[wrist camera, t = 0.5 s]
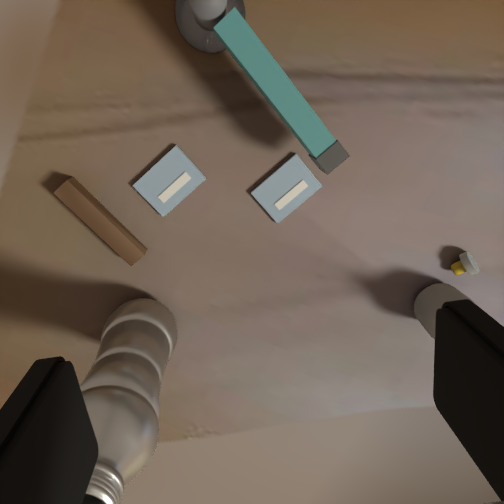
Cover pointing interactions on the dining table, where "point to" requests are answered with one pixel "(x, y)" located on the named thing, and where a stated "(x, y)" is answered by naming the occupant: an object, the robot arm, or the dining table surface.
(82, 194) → the sill
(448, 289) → the reed diffuser
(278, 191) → the label cards
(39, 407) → the robot arm
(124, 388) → the plastic bottle
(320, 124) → the boom bar
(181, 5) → the pivot plate
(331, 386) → the dining table surface
